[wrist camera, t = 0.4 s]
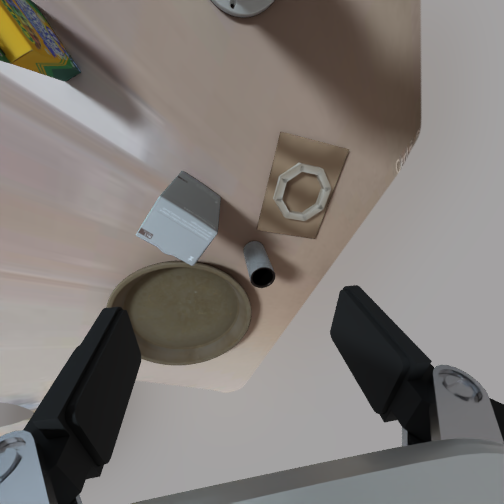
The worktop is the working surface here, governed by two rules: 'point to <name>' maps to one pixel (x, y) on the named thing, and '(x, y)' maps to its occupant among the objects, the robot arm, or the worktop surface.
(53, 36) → the crayon box
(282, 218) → the tan board with ring
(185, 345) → the plant saucer
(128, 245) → the worktop surface
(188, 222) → the skincare box
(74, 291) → the worktop surface
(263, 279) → the grey tube
